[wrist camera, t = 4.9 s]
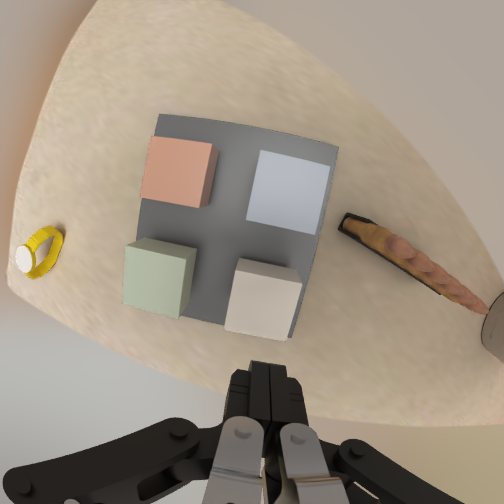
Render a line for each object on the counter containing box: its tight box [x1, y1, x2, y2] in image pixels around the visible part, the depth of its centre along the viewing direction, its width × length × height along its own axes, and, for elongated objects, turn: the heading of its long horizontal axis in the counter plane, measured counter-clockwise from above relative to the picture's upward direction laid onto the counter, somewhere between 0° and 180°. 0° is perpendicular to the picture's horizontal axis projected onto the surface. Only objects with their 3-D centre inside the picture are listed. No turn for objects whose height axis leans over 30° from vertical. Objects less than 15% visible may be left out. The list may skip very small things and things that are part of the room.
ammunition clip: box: [338, 213, 489, 314], centre depth 20 cm, size 11×2×12 cm, turn 62°
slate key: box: [246, 150, 330, 235], centre depth 20 cm, size 5×5×4 cm
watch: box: [16, 226, 64, 279], centre depth 24 cm, size 6×3×6 cm, turn 144°
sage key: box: [122, 237, 197, 319], centre depth 21 cm, size 5×5×4 cm
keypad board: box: [136, 114, 339, 338], centre depth 24 cm, size 16×18×4 cm
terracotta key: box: [140, 136, 219, 208], centre depth 21 cm, size 5×5×4 cm
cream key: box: [224, 258, 302, 342], centre depth 21 cm, size 5×5×4 cm
